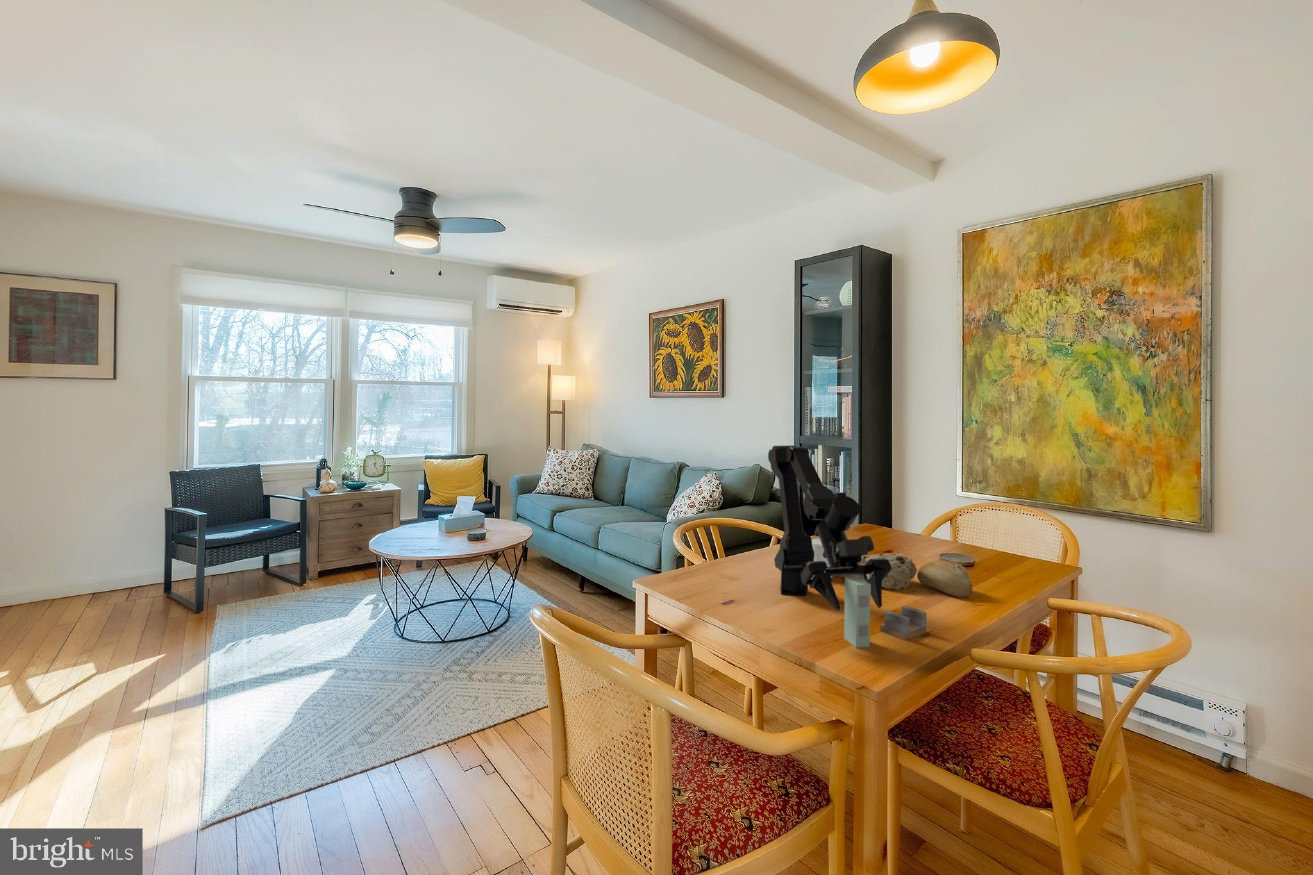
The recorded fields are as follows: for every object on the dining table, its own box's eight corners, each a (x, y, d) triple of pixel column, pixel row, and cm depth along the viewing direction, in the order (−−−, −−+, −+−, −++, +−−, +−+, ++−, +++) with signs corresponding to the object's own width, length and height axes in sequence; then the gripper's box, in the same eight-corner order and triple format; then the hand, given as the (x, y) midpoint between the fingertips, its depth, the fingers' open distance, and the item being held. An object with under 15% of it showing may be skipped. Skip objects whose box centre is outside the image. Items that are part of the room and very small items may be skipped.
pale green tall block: (843, 638, 122) (845, 577, 122) (857, 637, 123) (858, 577, 122) (856, 648, 117) (858, 585, 116) (870, 647, 117) (871, 584, 117)
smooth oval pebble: (932, 580, 163) (932, 552, 162) (982, 596, 149) (983, 565, 149) (908, 585, 159) (908, 556, 158) (958, 601, 145) (958, 570, 145)
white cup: (805, 571, 172) (806, 538, 171) (833, 572, 171) (833, 538, 170) (808, 579, 164) (809, 544, 163) (837, 580, 163) (838, 545, 162)
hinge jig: (880, 630, 126) (880, 610, 126) (901, 623, 130) (901, 604, 130) (904, 640, 121) (905, 619, 121) (926, 632, 125) (926, 612, 125)
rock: (828, 581, 165) (830, 545, 167) (855, 583, 174) (857, 549, 176) (897, 590, 150) (898, 551, 151) (923, 592, 159) (924, 555, 160)
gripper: (806, 524, 122) (830, 592, 111) (888, 521, 125) (918, 587, 114) (791, 551, 130) (812, 617, 119) (868, 548, 133) (894, 612, 122)
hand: (859, 608), depth 119 cm, fingers open, 9 cm apart
